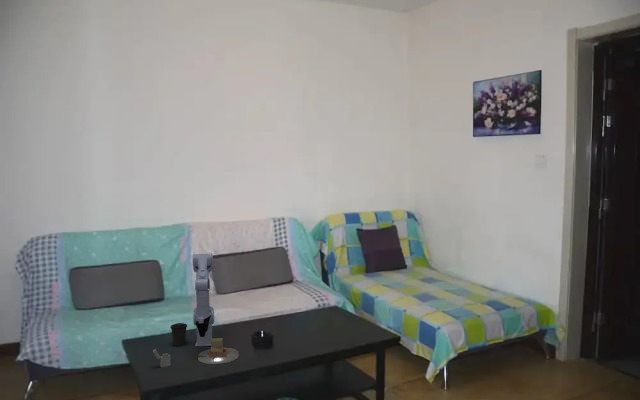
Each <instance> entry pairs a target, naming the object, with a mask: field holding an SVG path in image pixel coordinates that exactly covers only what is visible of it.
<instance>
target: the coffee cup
mask: <svg viewBox="0 0 640 400" xmlns="http://www.w3.org/2000/svg"><path fill="white" fill-rule="evenodd" d="M187 327H188V324H187V323H184V322H178V323H174V324H171V325H170V329H171V336H172V343H173V346H174V347H182V346H185V345H186V339H187V338H186V337H187V336H186V335H187Z"/></svg>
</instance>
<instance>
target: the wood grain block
mask: <svg viewBox="0 0 640 400" xmlns="http://www.w3.org/2000/svg"><path fill="white" fill-rule="evenodd" d="M212 338H213V337H212ZM223 348H224V338H223V337H220V338H218V337H217V338H215V337H214V338H213V339H211V346H210V349H211V353H223Z"/></svg>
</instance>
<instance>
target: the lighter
mask: <svg viewBox="0 0 640 400" xmlns="http://www.w3.org/2000/svg"><path fill="white" fill-rule="evenodd" d="M152 352H153V354H154V355H155V357H156V359H157V360H159V362H160V363H159V364H160V368H167V367H171V364H172V363H171V354H169V353H167V352H166V353H162V355H160V354H159V352H158V351H157V349H156V348H154V349H153V350H152Z"/></svg>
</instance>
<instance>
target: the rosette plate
mask: <svg viewBox="0 0 640 400" xmlns="http://www.w3.org/2000/svg"><path fill="white" fill-rule="evenodd" d="M239 356H240V352H239V350H237V349H235V348H231V347H223V353H211V348H209V349H208V348H207V349H206V350H203V351H201V352H200V353H198V356H197V359H198V362H199V363H202V364H206V365H214V366H215V365H226V364H229V363H231V362H234V361H237V359H238V358H239Z"/></svg>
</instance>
